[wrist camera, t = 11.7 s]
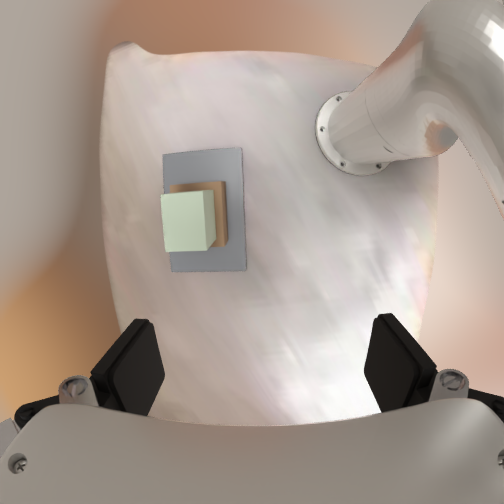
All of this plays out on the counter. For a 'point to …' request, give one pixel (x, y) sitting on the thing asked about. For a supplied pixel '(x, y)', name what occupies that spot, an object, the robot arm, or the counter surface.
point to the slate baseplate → (230, 170)
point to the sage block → (188, 220)
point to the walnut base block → (219, 206)
